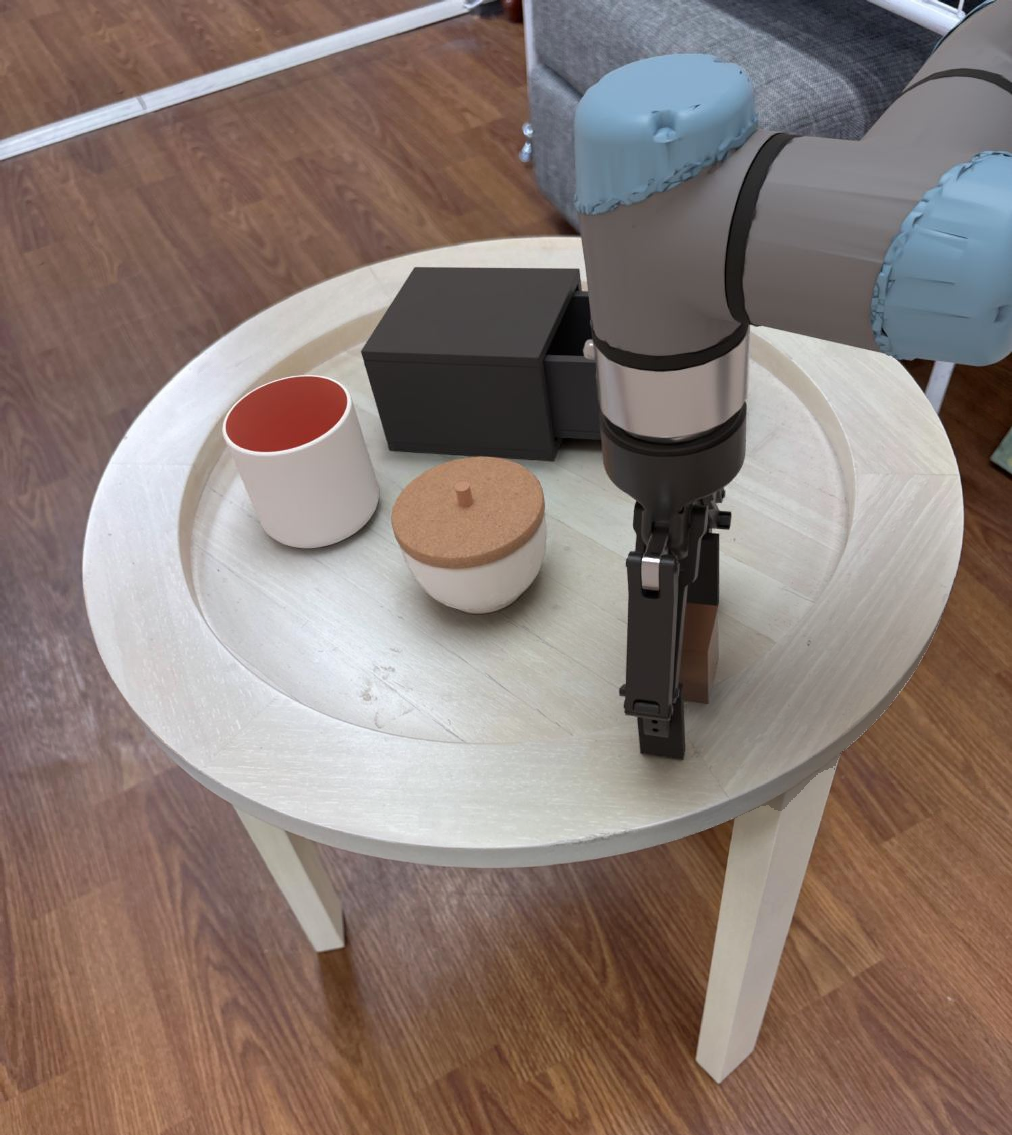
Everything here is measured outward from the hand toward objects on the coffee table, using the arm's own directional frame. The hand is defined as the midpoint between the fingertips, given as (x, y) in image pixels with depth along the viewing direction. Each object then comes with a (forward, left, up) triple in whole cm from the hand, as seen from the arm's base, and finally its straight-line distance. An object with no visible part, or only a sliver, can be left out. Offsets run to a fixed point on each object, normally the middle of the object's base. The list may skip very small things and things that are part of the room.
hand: (681, 674), depth 70 cm
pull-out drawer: (+10, -27, +1) cm, 29 cm away
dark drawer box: (+22, -27, 0) cm, 35 cm away
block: (0, 0, 0) cm, 0 cm away
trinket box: (+16, -6, 0) cm, 17 cm away
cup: (+32, -12, 0) cm, 34 cm away
